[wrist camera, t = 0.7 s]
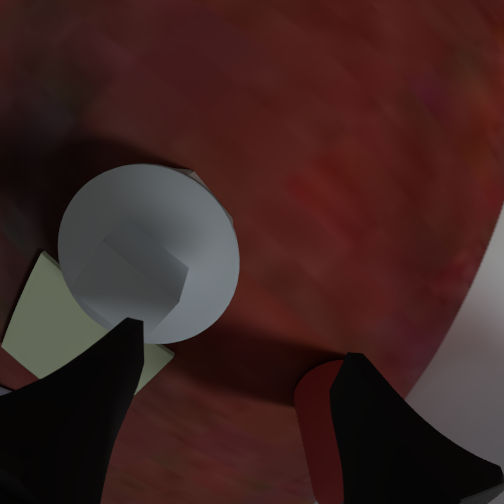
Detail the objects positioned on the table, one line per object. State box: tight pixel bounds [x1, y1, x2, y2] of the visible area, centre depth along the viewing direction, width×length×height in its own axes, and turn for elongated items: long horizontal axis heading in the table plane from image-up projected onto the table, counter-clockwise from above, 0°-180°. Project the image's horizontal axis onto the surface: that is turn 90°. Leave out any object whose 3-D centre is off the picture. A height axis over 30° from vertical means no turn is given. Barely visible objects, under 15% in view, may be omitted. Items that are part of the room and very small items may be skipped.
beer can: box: [294, 360, 344, 504], centre depth 19 cm, size 7×7×12 cm
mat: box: [1, 251, 175, 395], centre depth 22 cm, size 12×12×1 cm
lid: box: [58, 163, 239, 344], centre depth 15 cm, size 10×10×4 cm
